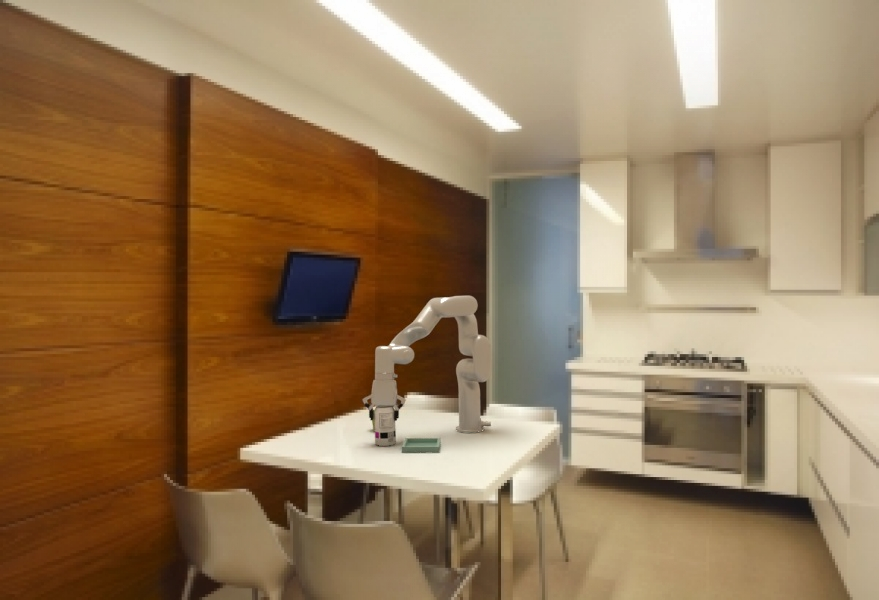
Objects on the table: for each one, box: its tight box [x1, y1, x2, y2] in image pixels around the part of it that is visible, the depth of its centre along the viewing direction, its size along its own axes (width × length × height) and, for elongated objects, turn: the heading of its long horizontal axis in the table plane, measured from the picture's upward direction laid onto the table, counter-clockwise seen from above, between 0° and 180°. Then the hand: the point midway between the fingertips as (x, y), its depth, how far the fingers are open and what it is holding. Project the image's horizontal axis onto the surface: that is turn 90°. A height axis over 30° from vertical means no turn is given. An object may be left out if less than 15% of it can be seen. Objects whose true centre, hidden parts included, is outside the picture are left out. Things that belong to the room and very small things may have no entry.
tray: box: [401, 437, 441, 454], centre depth 209 cm, size 14×14×2 cm
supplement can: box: [373, 406, 397, 447], centre depth 216 cm, size 8×8×15 cm
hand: (383, 420), depth 216 cm, fingers open, 9 cm apart
